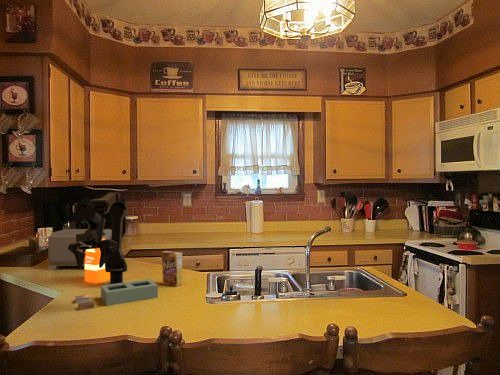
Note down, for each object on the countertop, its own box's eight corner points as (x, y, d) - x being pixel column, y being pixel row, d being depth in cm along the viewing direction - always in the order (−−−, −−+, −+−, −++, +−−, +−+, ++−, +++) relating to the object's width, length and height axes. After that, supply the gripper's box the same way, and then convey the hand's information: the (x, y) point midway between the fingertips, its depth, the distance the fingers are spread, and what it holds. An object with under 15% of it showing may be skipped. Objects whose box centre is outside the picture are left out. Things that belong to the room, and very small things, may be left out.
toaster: (109, 270, 205) (109, 232, 205) (46, 270, 205) (45, 232, 205) (122, 262, 224) (122, 228, 224) (64, 262, 225) (64, 228, 224)
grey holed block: (100, 297, 155) (100, 285, 154) (149, 290, 165) (149, 279, 165) (106, 306, 144) (106, 292, 144) (157, 297, 155) (157, 285, 155)
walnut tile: (78, 308, 143) (78, 303, 143) (92, 306, 145) (92, 301, 145) (79, 311, 139) (79, 306, 139) (94, 309, 142) (94, 303, 142)
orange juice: (84, 281, 181) (84, 239, 181) (99, 277, 189) (99, 237, 189) (95, 283, 177) (95, 241, 177) (110, 279, 185) (110, 238, 185)
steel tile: (74, 301, 151) (74, 296, 151) (88, 299, 154) (88, 294, 154) (76, 304, 148) (76, 299, 148) (89, 302, 150) (89, 297, 150)
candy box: (161, 284, 175) (161, 251, 175) (168, 282, 179) (167, 250, 179) (176, 287, 171) (176, 253, 170) (182, 284, 174) (182, 251, 174)
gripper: (61, 225, 144) (53, 266, 138) (104, 220, 140) (98, 262, 134) (80, 233, 154) (74, 271, 148) (121, 229, 150) (116, 268, 144)
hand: (89, 268), depth 143 cm, fingers open, 9 cm apart
